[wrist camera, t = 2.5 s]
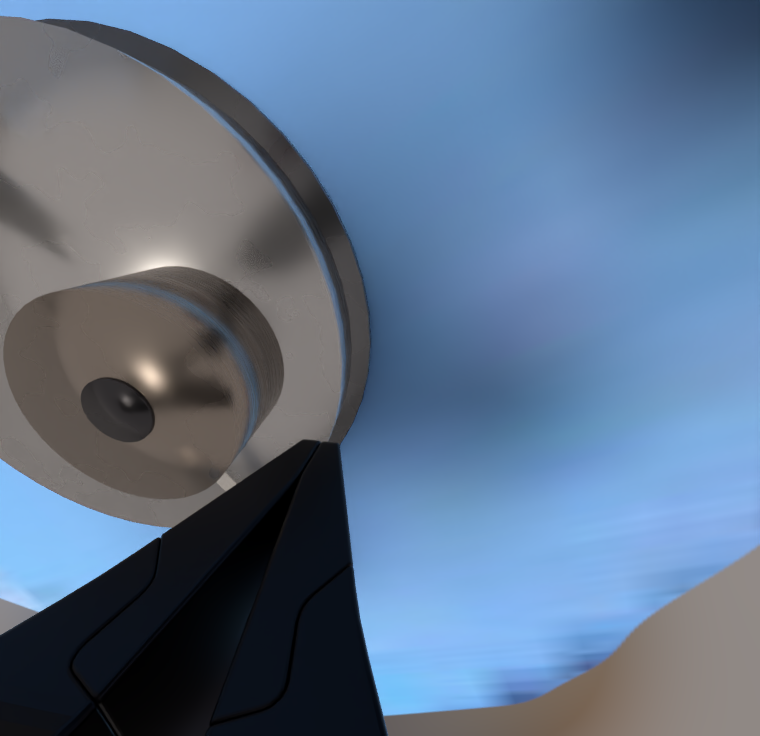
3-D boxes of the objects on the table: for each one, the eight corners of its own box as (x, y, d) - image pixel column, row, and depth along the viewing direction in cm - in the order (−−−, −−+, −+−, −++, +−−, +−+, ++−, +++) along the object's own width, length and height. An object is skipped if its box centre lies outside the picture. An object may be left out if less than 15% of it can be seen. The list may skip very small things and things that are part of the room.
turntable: (415, 152, 11) (403, 103, 6) (305, 538, 19) (257, 667, 14) (-169, -40, 11) (-761, -279, 5) (-26, 434, 19) (-204, 524, 14)
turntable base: (444, 135, 11) (445, 134, 11) (317, 542, 20) (315, 547, 20) (-176, -67, 11) (-191, -74, 11) (-25, 434, 20) (-31, 438, 20)
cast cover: (298, 301, 12) (244, 342, 8) (270, 452, 14) (221, 528, 11) (105, 239, 11) (-29, 254, 8) (116, 403, 14) (20, 464, 11)
